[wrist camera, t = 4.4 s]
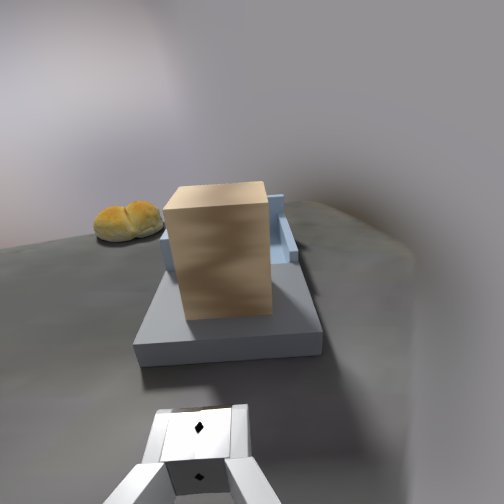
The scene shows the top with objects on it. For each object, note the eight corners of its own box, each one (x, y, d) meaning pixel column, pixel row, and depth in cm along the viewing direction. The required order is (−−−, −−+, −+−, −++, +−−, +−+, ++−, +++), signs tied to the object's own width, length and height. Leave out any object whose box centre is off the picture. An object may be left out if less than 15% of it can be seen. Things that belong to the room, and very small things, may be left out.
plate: (140, 367, 20) (132, 344, 19) (169, 289, 28) (165, 271, 27) (321, 354, 20) (323, 331, 19) (298, 281, 28) (298, 262, 27)
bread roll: (99, 228, 44) (90, 202, 42) (161, 217, 47) (155, 192, 45) (94, 250, 37) (83, 220, 35) (167, 236, 40) (161, 207, 38)
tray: (170, 288, 28) (159, 239, 26) (189, 239, 38) (182, 201, 35) (298, 279, 28) (298, 230, 26) (283, 232, 38) (282, 194, 35)
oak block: (185, 320, 20) (162, 209, 17) (195, 281, 25) (179, 186, 21) (272, 314, 20) (268, 202, 17) (267, 276, 25) (262, 181, 21)
